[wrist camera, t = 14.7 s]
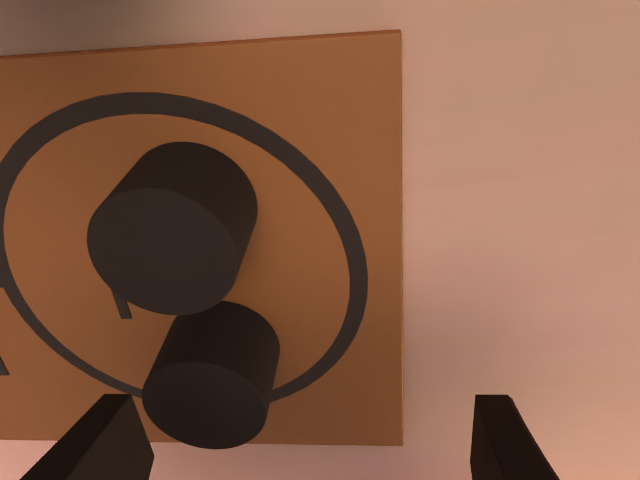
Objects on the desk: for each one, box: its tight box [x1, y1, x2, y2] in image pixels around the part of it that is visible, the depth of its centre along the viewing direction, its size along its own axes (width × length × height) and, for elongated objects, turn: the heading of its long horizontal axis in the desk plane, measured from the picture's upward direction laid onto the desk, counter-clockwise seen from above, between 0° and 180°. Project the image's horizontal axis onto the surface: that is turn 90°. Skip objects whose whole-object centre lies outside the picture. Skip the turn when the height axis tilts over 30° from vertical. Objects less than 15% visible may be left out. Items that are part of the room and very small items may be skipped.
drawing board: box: [0, 30, 403, 446], centre depth 20 cm, size 16×22×1 cm
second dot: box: [87, 142, 258, 316], centre depth 16 cm, size 4×4×3 cm
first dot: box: [142, 301, 280, 449], centre depth 19 cm, size 4×4×3 cm
